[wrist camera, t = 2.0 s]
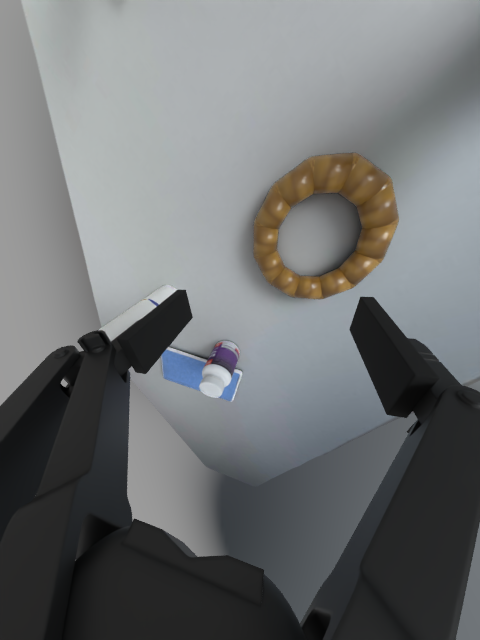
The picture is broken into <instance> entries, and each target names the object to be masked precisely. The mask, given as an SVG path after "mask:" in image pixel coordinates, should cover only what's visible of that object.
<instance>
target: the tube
mask: <svg viewBox="0 0 480 640" xmlns="http://www.w3.org/2000/svg"><path fill="white" fill-rule="evenodd" d="M175 291H177V290H176V289H175V288H174V287H172V286H170V285H163V286H162V287H160V288H159V289H157V290H156V291H154V292H153V293H151V294H150V295H148V296H147V297H146V298H144V299H143V300H141V301H140V302H138V303H137V304H135V305H134V306H132V307H131V308H129V309H128V310H126V311H125V312H123V313H122V314H121V315H119V316H118V317H116V318H115V319H113V320H112V321H110V322H109V323H107V324H106V325H104V326H103V327H102V328H100V329H99V330H103V331H105V333H106V334H107V336H108V337H109V339H110V341H112V340H114V339H115V338H116V337H117V336H119V335H120V334H121V333H122V332H124V331H125V330H127V328H129V327H130V326H131V325H132V324H134V323H135V322H136V321H138V320H140V319H142V318H143V317H144V316H146V315H147V314H148V313H149V312H151V311H152V310H153V309H154V308H156V307H157V306H158V305H159V304H160V303H162V302H163V301H164V300H165V299H167V298H168V297H169V296H170V295H172V294H173V293H174V292H175Z"/></svg>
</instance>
